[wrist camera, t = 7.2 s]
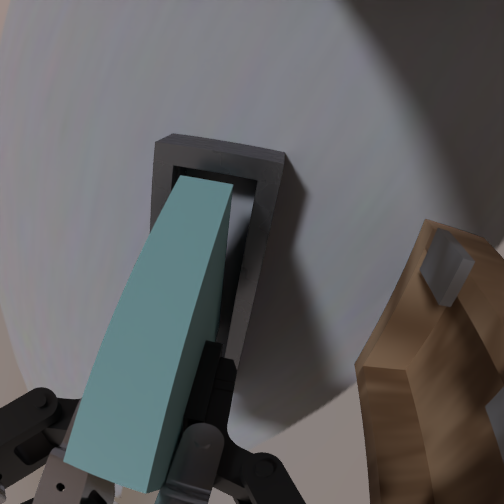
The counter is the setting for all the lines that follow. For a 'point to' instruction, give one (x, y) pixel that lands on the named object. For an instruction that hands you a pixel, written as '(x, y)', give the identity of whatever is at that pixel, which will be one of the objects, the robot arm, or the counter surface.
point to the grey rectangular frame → (269, 176)
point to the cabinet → (438, 376)
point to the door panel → (155, 342)
